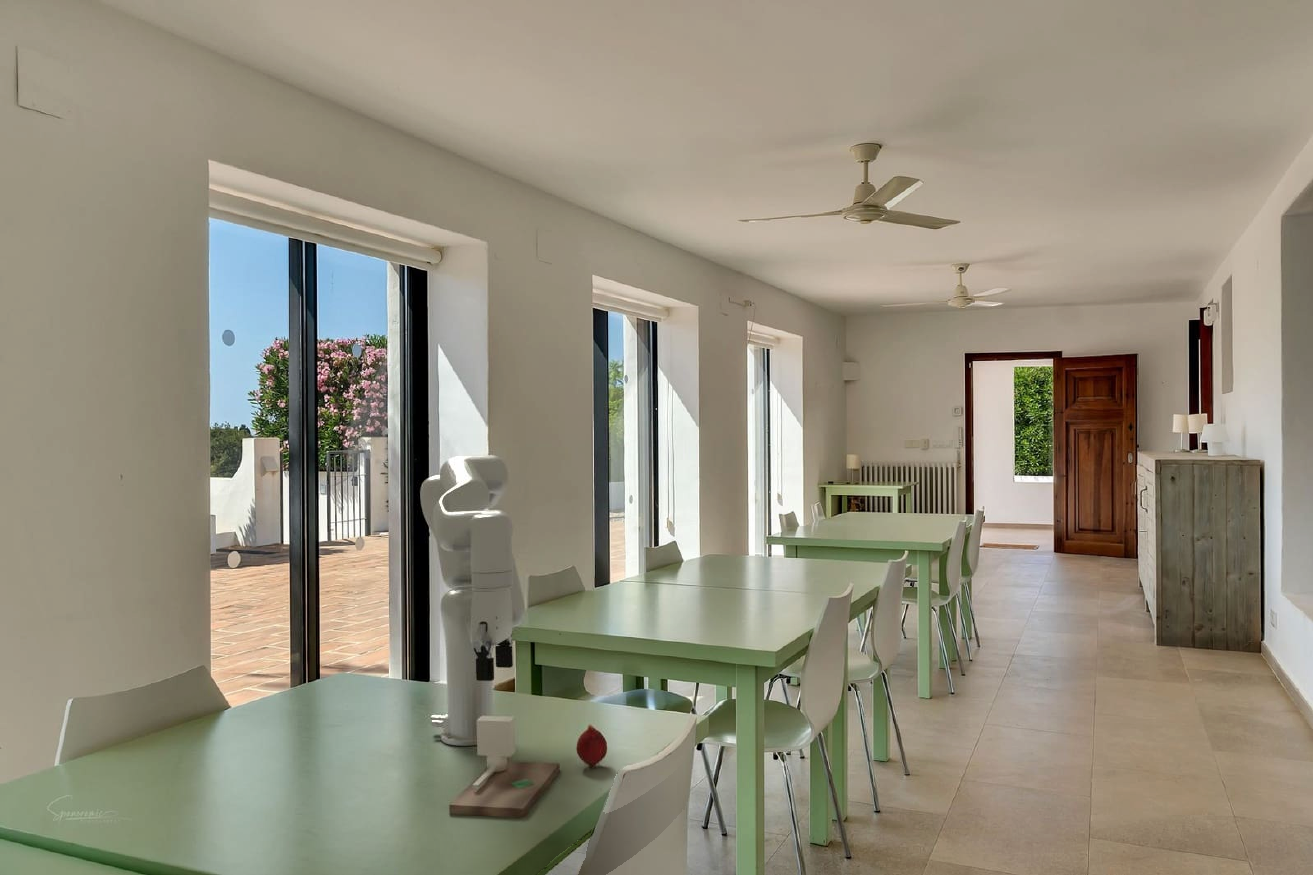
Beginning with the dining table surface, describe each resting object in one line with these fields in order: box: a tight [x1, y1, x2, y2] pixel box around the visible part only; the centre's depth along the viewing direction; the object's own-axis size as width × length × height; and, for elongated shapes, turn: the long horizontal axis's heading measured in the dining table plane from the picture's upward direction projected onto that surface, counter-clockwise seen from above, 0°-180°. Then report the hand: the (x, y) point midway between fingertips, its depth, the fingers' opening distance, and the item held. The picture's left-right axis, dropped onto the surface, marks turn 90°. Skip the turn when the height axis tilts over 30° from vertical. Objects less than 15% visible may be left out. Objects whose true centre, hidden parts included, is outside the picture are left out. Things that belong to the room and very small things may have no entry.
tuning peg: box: [473, 715, 517, 788], centre depth 164 cm, size 12×6×9 cm, turn 169°
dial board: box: [448, 760, 561, 819], centre depth 162 cm, size 13×21×2 cm, turn 169°
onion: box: [575, 723, 608, 768], centre depth 173 cm, size 6×6×8 cm
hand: (495, 673), depth 168 cm, fingers open, 9 cm apart
